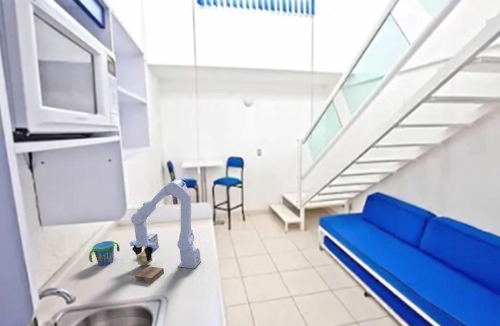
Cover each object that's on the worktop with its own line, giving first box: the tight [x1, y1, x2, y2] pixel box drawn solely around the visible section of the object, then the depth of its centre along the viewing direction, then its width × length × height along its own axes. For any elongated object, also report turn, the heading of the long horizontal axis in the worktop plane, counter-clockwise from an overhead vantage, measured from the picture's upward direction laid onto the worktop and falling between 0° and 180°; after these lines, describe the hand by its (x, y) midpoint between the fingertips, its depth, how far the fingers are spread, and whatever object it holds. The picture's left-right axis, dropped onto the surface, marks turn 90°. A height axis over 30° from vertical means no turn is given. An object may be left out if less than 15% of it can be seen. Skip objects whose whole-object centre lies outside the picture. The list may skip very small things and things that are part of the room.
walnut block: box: [135, 265, 165, 284], centre depth 138 cm, size 9×9×3 cm
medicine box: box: [144, 233, 160, 254], centre depth 166 cm, size 8×4×9 cm, turn 168°
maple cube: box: [136, 250, 153, 266], centre depth 149 cm, size 5×5×5 cm
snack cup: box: [88, 240, 120, 266], centre depth 154 cm, size 16×10×10 cm
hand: (144, 259), depth 149 cm, fingers closed on maple cube, 5 cm apart
